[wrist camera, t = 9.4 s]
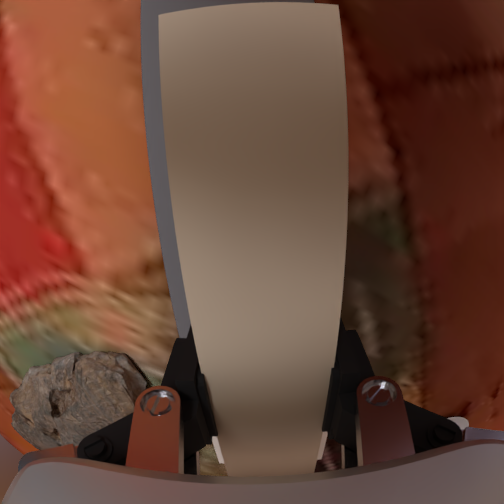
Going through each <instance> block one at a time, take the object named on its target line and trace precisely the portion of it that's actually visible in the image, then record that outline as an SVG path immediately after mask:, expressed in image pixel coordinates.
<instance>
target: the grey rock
mask: <svg viewBox="0 0 504 504" xmlns="http://www.w3.org/2000/svg"><path fill="white" fill-rule="evenodd" d="M146 384H147V383H146V381H145V379H144V378H143V376H142V375H141V374H140V372H139V371H138V370H137V369H136V367H135V366H134V365H133V363H132V362H131V361H130V359H129V358H128V357H127V356H126V354H122V353H115V352H108V353H104V352H98V351H95V352H93V353H91V354H86V355H83V354H81V353H80V352H75V353H72V354H69V355H67V356H63V357H57V358H55V359H54V361H53V362H52V364H46V365H43V366H32V367H30V368H29V372H26V374H25V377H24V379H23V381H22V384H21V385H20V387H19V389H15V390H14V391H13V392H12V393H11V394H10V401H11V403H12V405H13V406H14V408H15V413H14V414H13V415H12V420H13V421H12V423H11V424H12V426H13V428H14V429H15V430H16V431H17V432H18V433H19V434H20V435H21V436H22V437H23V438H24V439H25V440H27V441H28V442H29V443H31V444H32V445H33V446H34V447H36V448H37V449H39V450H44V449H49V448H54V447H59V446H64V445H68V444H73V445H74V446H78V445H79V443H80V442H81V441H82V439H83V438H85V437H86V436H88V435H90V434H92V433H94V432H96V431H98V430H100V429H102V428H104V427H106V426H108V425H110V424H112V423H114V422H116V421H117V420H119V419H121V418H123V417H125V416H127V415H129V414H131V413H133V412H134V407H135V402H136V399H137V397H138V396H139V395H140V394H141V393H142V392H143V391H144V390H146V389H147V388H146Z"/></svg>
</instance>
